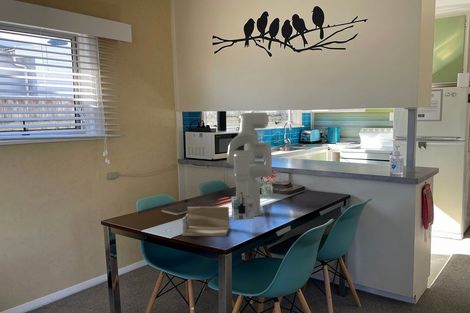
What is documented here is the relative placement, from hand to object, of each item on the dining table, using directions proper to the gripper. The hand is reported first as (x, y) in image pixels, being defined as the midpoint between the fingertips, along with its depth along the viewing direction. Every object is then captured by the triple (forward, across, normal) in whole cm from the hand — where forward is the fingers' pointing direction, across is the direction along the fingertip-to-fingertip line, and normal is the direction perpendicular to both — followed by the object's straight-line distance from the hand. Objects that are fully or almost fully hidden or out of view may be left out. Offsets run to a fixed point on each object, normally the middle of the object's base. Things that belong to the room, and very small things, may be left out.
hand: (242, 210), depth 210 cm
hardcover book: (+13, -46, -43) cm, 64 cm away
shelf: (+11, +1, -19) cm, 22 cm away
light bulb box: (+4, 0, 0) cm, 4 cm away
